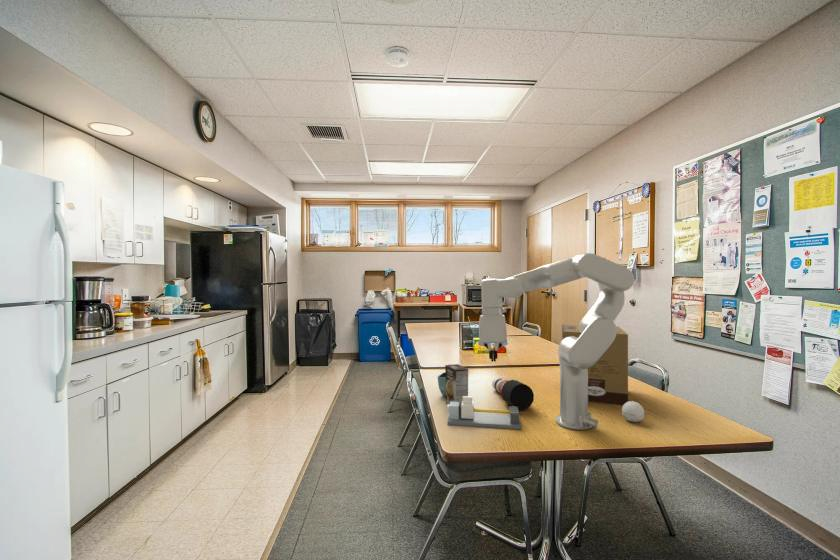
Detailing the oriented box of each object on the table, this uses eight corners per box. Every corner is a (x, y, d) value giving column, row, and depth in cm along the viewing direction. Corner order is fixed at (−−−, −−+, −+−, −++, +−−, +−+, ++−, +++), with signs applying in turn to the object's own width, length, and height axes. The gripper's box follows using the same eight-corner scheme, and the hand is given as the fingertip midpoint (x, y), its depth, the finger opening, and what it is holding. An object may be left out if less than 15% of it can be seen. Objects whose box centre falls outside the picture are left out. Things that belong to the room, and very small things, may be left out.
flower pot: (443, 390, 174) (443, 371, 174) (461, 393, 171) (461, 373, 171) (437, 396, 166) (437, 376, 166) (455, 398, 163) (455, 378, 163)
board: (518, 418, 140) (518, 405, 140) (521, 429, 130) (521, 415, 130) (450, 414, 144) (450, 401, 144) (447, 424, 134) (447, 410, 134)
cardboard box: (618, 389, 176) (619, 326, 176) (628, 406, 152) (628, 333, 152) (561, 383, 185) (562, 323, 185) (562, 399, 161) (562, 330, 161)
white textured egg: (617, 419, 138) (617, 400, 138) (630, 416, 141) (630, 397, 141) (642, 429, 129) (642, 408, 129) (656, 426, 132) (656, 405, 132)
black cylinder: (499, 395, 180) (507, 376, 181) (527, 413, 147) (537, 390, 148) (481, 387, 179) (489, 368, 181) (506, 403, 146) (516, 379, 148)
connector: (462, 414, 141) (461, 402, 141) (461, 419, 136) (461, 406, 136) (448, 413, 142) (448, 401, 142) (446, 418, 137) (446, 405, 137)
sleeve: (473, 413, 140) (473, 395, 140) (473, 418, 135) (473, 399, 135) (462, 413, 141) (462, 394, 141) (461, 418, 136) (461, 398, 136)
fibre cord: (518, 413, 135) (518, 410, 135) (518, 414, 134) (518, 411, 134) (457, 410, 139) (457, 406, 139) (457, 411, 138) (457, 408, 138)
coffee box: (444, 402, 158) (444, 365, 158) (458, 400, 161) (457, 363, 160) (455, 409, 150) (454, 369, 149) (468, 407, 152) (468, 368, 152)
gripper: (511, 310, 140) (513, 358, 140) (472, 311, 142) (473, 358, 142) (513, 312, 133) (514, 363, 133) (471, 313, 135) (473, 363, 135)
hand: (493, 360), depth 138 cm, fingers closed
